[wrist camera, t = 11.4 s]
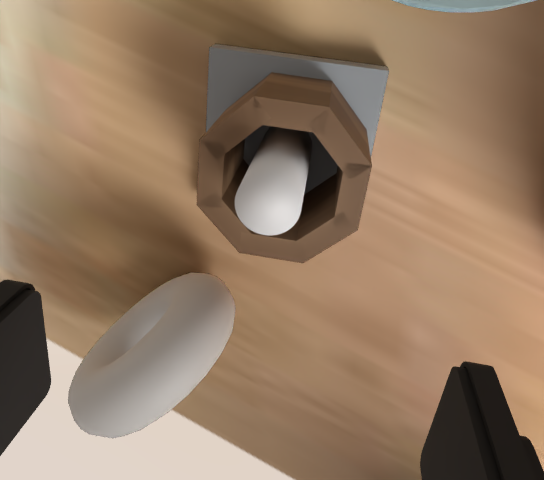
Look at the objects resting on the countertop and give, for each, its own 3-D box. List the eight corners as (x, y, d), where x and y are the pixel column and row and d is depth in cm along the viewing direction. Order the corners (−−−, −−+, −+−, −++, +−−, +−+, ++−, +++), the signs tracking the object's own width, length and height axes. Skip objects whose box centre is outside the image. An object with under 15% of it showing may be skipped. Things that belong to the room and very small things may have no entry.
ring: (375, 86, 22) (383, 114, 18) (347, 219, 25) (348, 270, 21) (229, 66, 22) (201, 88, 18) (220, 199, 26) (195, 245, 21)
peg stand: (354, 222, 27) (358, 313, 19) (208, 199, 27) (158, 281, 20) (387, 66, 23) (406, 109, 16) (215, 43, 23) (157, 74, 16)
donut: (224, 232, 28) (170, 350, 19) (262, 276, 29) (227, 407, 20) (106, 310, 32) (16, 438, 23) (144, 346, 33) (71, 482, 24)
